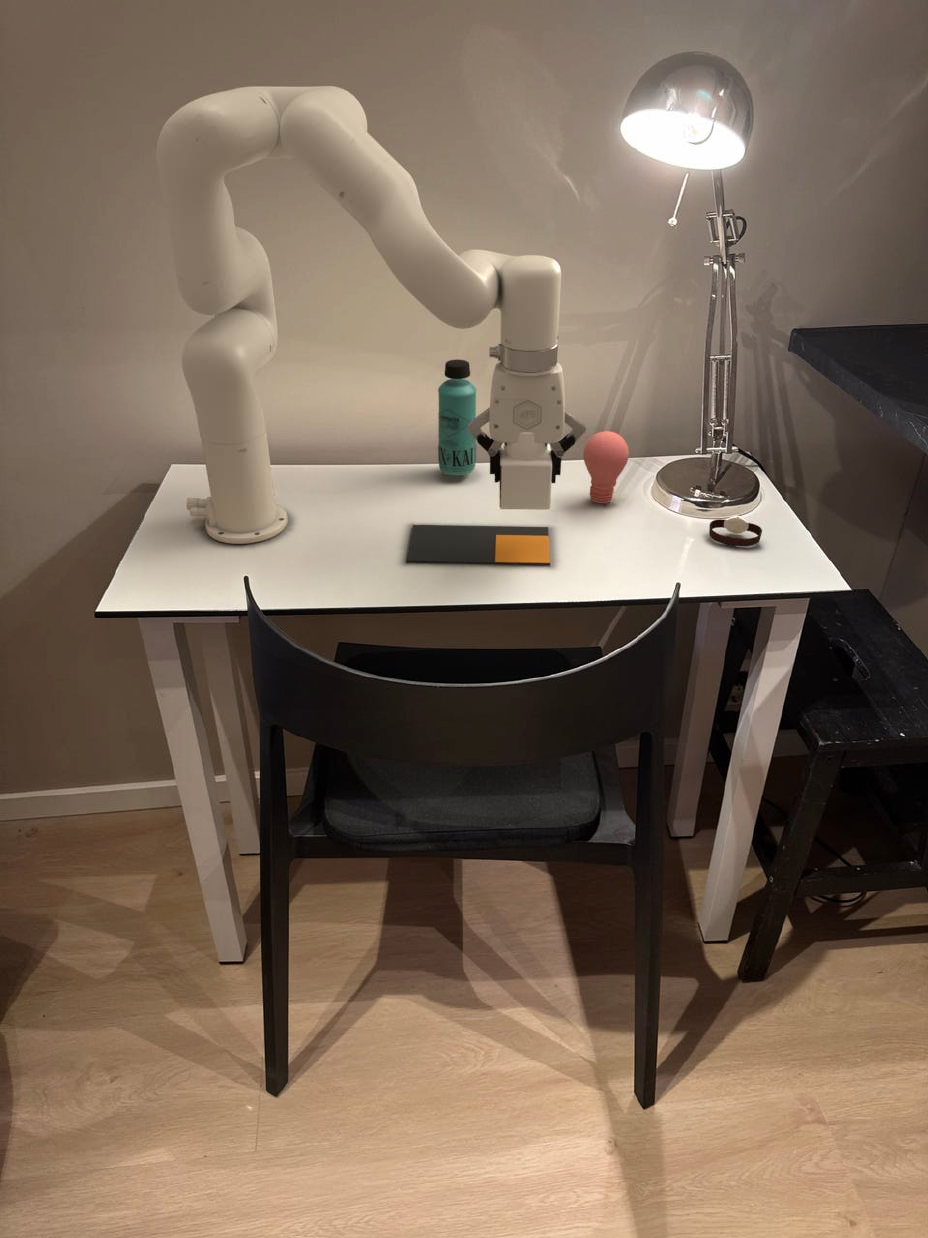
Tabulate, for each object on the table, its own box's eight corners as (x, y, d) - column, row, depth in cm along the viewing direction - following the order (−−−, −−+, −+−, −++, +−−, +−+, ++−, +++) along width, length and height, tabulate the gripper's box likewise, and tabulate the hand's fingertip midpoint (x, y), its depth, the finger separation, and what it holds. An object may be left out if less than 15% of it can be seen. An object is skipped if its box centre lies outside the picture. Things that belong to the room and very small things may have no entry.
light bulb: (622, 514, 152) (629, 443, 145) (577, 510, 153) (582, 440, 146) (625, 494, 158) (632, 425, 151) (582, 490, 159) (587, 422, 152)
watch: (760, 536, 146) (764, 515, 144) (758, 551, 142) (763, 529, 140) (709, 529, 148) (712, 508, 145) (706, 544, 144) (709, 522, 142)
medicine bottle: (499, 487, 140) (500, 410, 134) (548, 488, 140) (551, 410, 134) (499, 510, 135) (500, 430, 128) (550, 510, 134) (554, 430, 128)
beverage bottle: (441, 466, 167) (439, 354, 156) (479, 468, 166) (479, 355, 155) (435, 483, 162) (432, 367, 150) (474, 485, 161) (474, 369, 150)
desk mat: (406, 562, 140) (406, 559, 139) (413, 526, 149) (412, 524, 148) (550, 565, 139) (550, 562, 139) (548, 529, 148) (548, 526, 148)
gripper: (461, 365, 123) (462, 489, 133) (597, 366, 122) (587, 491, 132) (464, 346, 129) (464, 466, 139) (593, 347, 128) (584, 468, 138)
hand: (524, 477), depth 136 cm, fingers closed on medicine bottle, 7 cm apart
